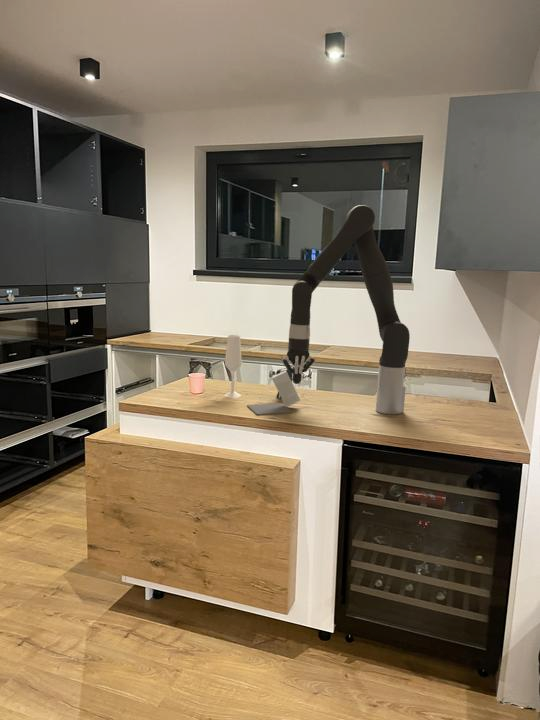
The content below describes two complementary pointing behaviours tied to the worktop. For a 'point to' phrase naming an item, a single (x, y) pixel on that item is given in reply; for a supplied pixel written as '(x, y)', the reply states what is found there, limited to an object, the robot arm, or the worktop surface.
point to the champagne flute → (233, 360)
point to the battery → (288, 374)
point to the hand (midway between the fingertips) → (296, 383)
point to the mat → (269, 409)
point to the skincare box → (285, 388)
